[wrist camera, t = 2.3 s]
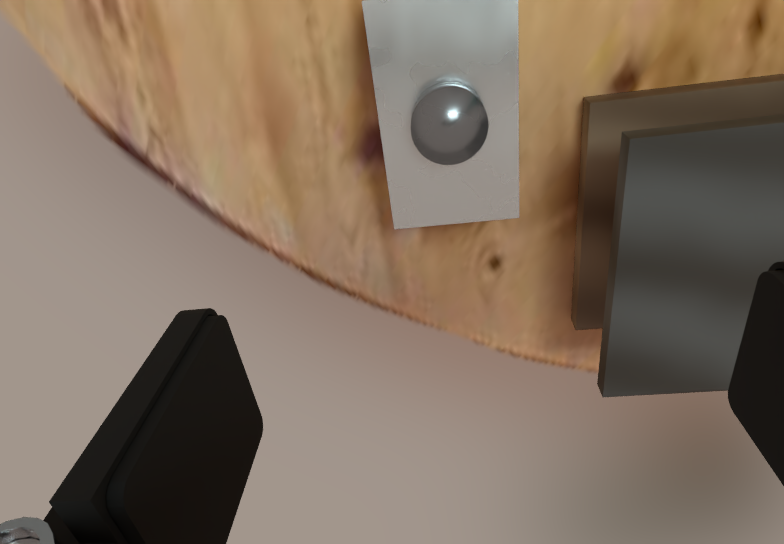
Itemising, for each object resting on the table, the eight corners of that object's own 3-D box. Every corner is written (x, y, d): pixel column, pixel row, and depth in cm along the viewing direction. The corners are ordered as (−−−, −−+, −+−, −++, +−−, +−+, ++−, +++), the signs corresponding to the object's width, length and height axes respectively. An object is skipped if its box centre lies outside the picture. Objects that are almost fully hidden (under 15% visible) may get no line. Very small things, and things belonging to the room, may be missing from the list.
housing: (368, -37, 24) (353, -34, 19) (500, -57, 23) (523, -60, 18) (400, 209, 30) (396, 263, 25) (505, 198, 30) (523, 252, 24)
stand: (583, 97, 27) (629, 138, 21) (885, 62, 25) (1029, 96, 19) (571, 318, 34) (602, 397, 28) (805, 302, 32) (891, 381, 26)
